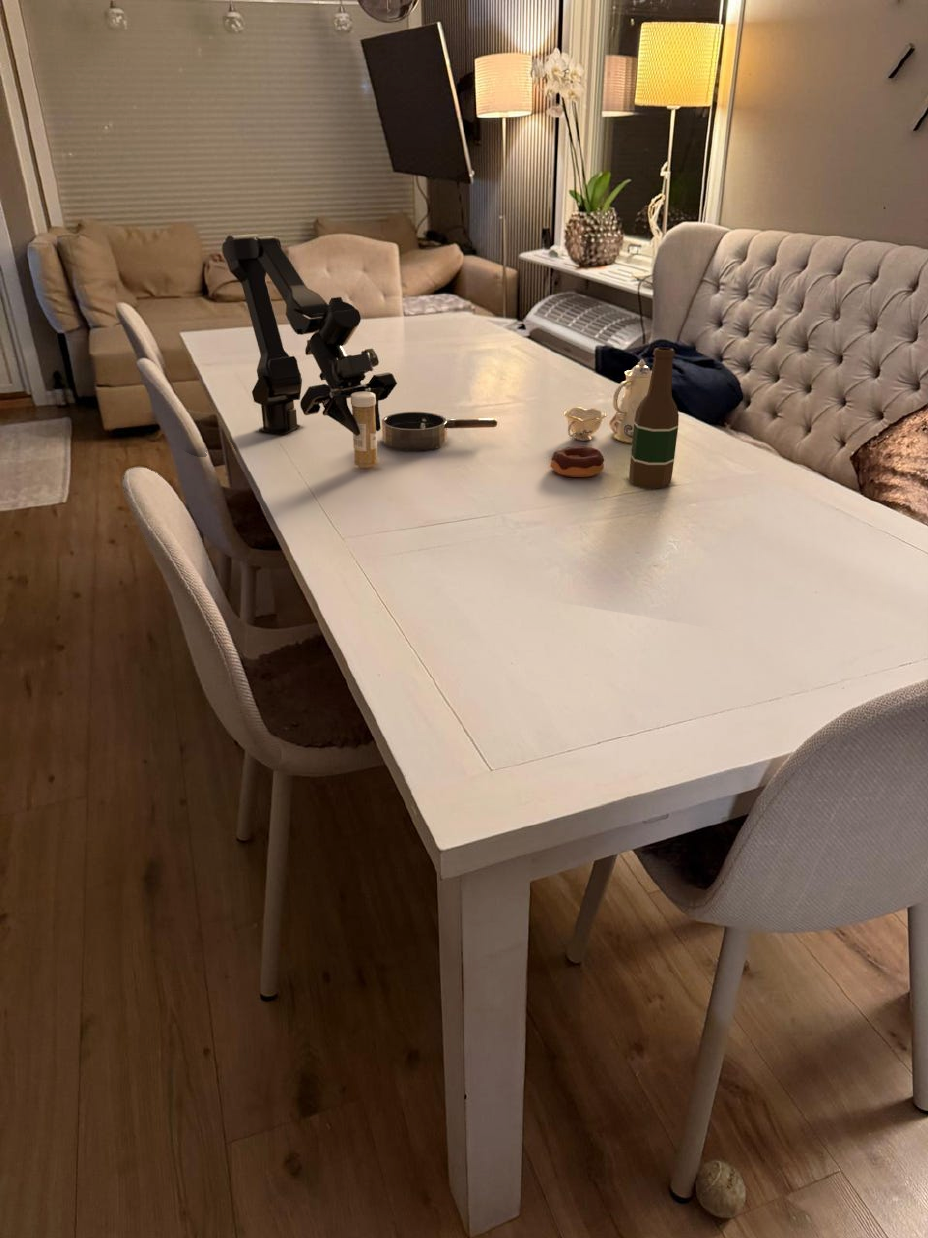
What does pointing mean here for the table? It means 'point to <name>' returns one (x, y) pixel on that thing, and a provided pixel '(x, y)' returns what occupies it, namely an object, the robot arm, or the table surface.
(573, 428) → the chinaware
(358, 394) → the sprinkles bottle
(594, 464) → the donut
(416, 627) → the table surface
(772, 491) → the table surface
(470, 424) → the pan handle
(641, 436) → the beer bottle
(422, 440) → the pan
